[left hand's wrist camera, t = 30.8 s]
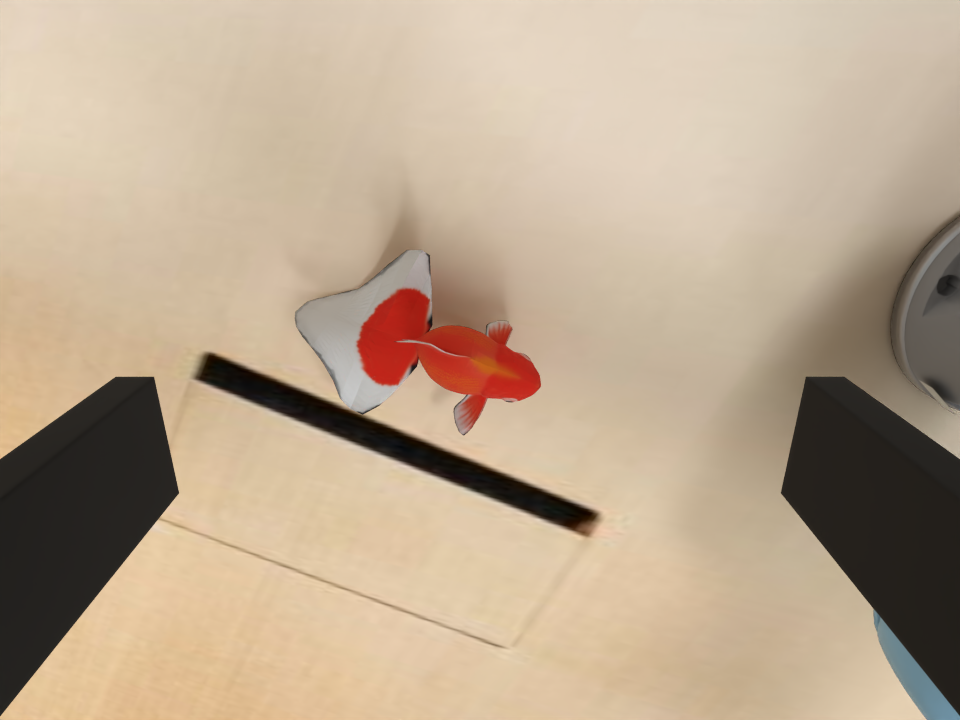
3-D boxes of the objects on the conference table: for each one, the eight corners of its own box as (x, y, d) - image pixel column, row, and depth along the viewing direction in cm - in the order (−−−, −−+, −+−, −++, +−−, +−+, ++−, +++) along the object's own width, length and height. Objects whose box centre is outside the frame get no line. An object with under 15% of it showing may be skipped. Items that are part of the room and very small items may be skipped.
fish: (473, 492, 41) (438, 503, 32) (308, 360, 45) (230, 333, 35) (567, 365, 42) (561, 337, 32) (395, 243, 45) (342, 185, 35)
